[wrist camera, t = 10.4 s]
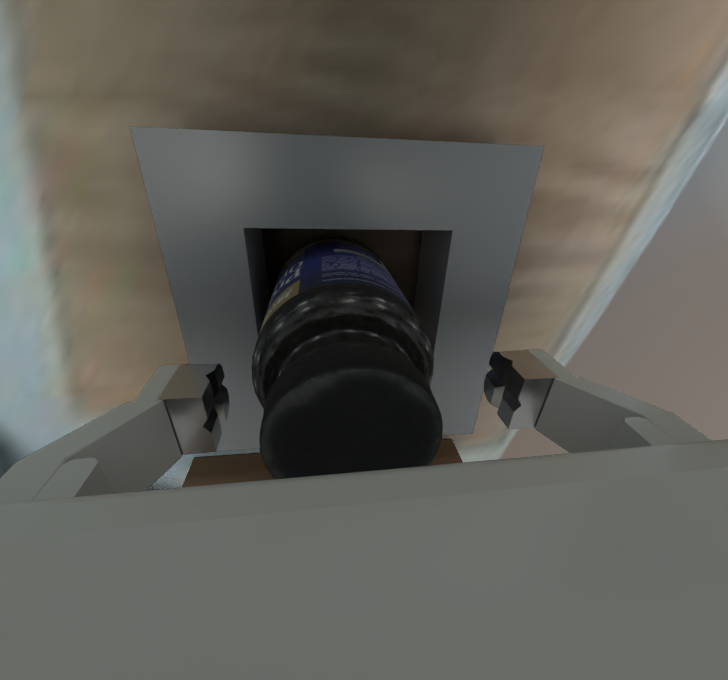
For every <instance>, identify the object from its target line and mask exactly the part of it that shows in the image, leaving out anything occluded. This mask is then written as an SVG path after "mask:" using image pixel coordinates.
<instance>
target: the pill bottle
mask: <svg viewBox="0 0 728 680" xmlns="http://www.w3.org/2000/svg"><path fill="white" fill-rule="evenodd" d="M433 363H434V357H433V351H432V346H431V342H430V339H429V336H428V334H427V332H426V330H425V328H424V325H423V324H422V322H421V321H420V319H419V318H418V317H417V315H416V314H415V312H414V311H413V309H412V308H411V305H410V304H409V303H408V301H407V300H406V298H405V297H404V295H403V293H402V292H401V290H400V289H399V287H398V285H397V284H396V282H395V281H394V279H393V277H392V276H391V275H390V273H389V272H388V270H387V268H386V267H385V266H384V264H383V263H382V261H381V260H380V258H379V257H378V256H377V255H376V254H375V253H374V252H373V251H372V250H371V249H369V248H368V247H366V246H365V245H362V244H360V243H358V242H356V241H353V240H350V239H347V238H340V237H326V238H320V239H317V240H314V241H312V242H310V243H308V244H306V245H305V246H303V247H301V248H299V249H297V250H296V251H294V252H293V253H292V254H291V255H290V256H289V257H288V259H287V261H286V262H285V263H284V265H283V267H282V269H281V271H280V274H279V276H278V279H277V281H276V285H275V288H274V291H273V294H272V297H271V300H270V303H269V306H268V309H267V312H266V315H265V318H264V321H263V324H262V327H261V331H260V334H259V337H258V339H257V342H256V345H255V350H254V353H253V356H252V367H251V369H252V381H253V386H254V390H255V394H256V395H257V398H258V400H259V402H260V404H261V405H262V407H263V409H264V412H263V419H262V423H261V428H260V438H259V442H260V453H261V456H262V460H263V462H264V464H265V467H266V468H267V470H268V471H269V473H270V474H271V475H272V477H273V478H275V479H285V478H296V477H308V476H319V475H330V474H342V473H353V472H364V471H375V470H386V469H398V468H409V467H420V466H429V465H430V464H431V463H432V461H433V459H434V458H435V455H436V454H437V452H438V450H439V446H440V444H441V440H442V432H443V422H442V416H441V413H440V410H439V407H438V404H437V402H436V400H435V398H434V396H433V394H432V391H431V388H430V384H431V380H432V376H433V368H434V365H433Z"/></svg>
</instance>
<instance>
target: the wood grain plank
mask: <svg viewBox="0 0 728 680" xmlns="http://www.w3.org/2000/svg"><path fill="white" fill-rule="evenodd" d="M453 463H463V462H462V460H461V458H460V456H459V454H458V451H457V449H456V447H455V445H454V443H453V441H452V439H446V440H441V444H440V446H439V450H438V452H437V454H436V455H435V458H434V459H433V461H432V463H431V464H430V465H429V466H431V465H442V464H453ZM274 479H275V478H273V477H272V475H271V474H270V473H269V471H268V470H267V468H266V467H265V464H264V462H263V460H262V456H261V453H254V454H240V455H226V456H212V457H199V458H194V459H193V462H192V464H191V467H190V469H189V472H188V474H187V476H186V479H185V481H184V484H183V486H182V488H183V487H194V486H206V485H217V484H228V483H240V482H251V481H262V480H274Z"/></svg>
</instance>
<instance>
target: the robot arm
mask: <svg viewBox="0 0 728 680" xmlns="http://www.w3.org/2000/svg"><path fill="white" fill-rule="evenodd" d="M489 365H490V367H491V370H490V371H489V372H488V373H487V374H486V376H485V380H484V392H485V395H486V398H487V400H488V401H489V403H490V404H491V405H493V406H495V407H497V408H498V413H497V414H498V415H499V417H500V418H501V420H502V421H503V422H504V424H505V425H506V427H507V428H508V429H522V428H535V429H536V430H537V431H538V432H540V433H541V434H543V435H544V436H546V437H547V438H549V439H550V440H552V441H553V442H555V443H556V444H558V445H559V446H561V447H562V448H564V449H565V450H567V451H568V452H569V453H567V454H555V455H544V456H533V457H522V458H511V459H498V460H487V461H476V462H464V463H453V464H442V465H431V466H420V467H409V468H398V469H386V470H375V471H364V472H353V473H342V474H330V475H319V476H308V477H296V478H285V479H274V480H262V481H251V482H240V483H228V484H217V485H206V486H194V487H183V488H172V489H160V490H149V491H146V490H147V489H148V488H150V487H151V486H152V485H153V484H154V483H155V482H156V481H157V480H158V479H159V478H160V477H161V476H162V475H163V474H164V473H165V472H166V471H167V470H168V469H169V468H171V467H172V466H173V465H174V464H175V463H176V462H177V461H178V460H179V459H180V458H181V457H182V455H186V454H195V453H205V452H215V451H216V450H217V447H218V444H219V441H220V438H221V435H222V429H221V425H222V424H223V423H224V422H226V420H227V417H228V413H229V394H228V389H227V388H226V387H225V386H223V385H222V382H223V379H224V377H225V375H224V371H223V367H222V366H221V364H220V363H217V364H183V365H181V364H175V365H163V366H160V367H159V368H158V369H157V371H156V372H155V373H154V375H153V376H152V377H151V379H150V380H149V381H148V383H147V384H146V386H145V387H144V388H143V390H142V391H141V392H140V394H139V395H138V396H137V398H136V399H135V400H134V402H126V403H125V404H123V405H121V406H119V407H117V408H115V409H113V410H112V411H110V412H108V413H106V414H104V415H102V416H100V417H99V418H97V419H95V420H93V421H91V422H89V423H87V424H86V425H84V426H82V427H80V428H78V429H76V430H74V431H73V432H71V433H69V434H67V435H65V436H63V437H61V438H60V439H58V440H56V441H54V442H52V443H50V444H48V445H47V446H45V447H43V448H41V449H39V450H37V451H35V452H34V453H32V454H30V455H28V456H26V457H24V458H22V459H21V460H19V461H17V462H16V463H15V464H14V465H13V466H12V467H11V468H10V469H9V470H8V471H7V472H6V473H5V474H4V475H3V476H2V477H1V478H0V680H728V439H724V440H711V439H709V438H708V437H706V436H705V435H704V434H702V433H701V432H699V431H698V430H697V429H695V428H694V427H692V426H691V425H690V424H688V423H687V422H686V421H684V420H683V419H681V418H680V417H679V416H677V415H676V414H675V413H672V412H670V411H667V410H664V409H661V408H659V407H657V406H654V405H652V404H649V403H646V402H644V401H641V400H639V399H636V398H633V397H631V396H628V395H626V394H623V393H621V392H618V391H616V390H613V389H610V388H608V387H605V386H603V385H600V384H597V383H595V382H592V381H589V380H587V379H584V378H582V377H575V376H573V374H571V373H570V372H569V371H568V370H567V369H566V368H564V367H563V366H562V365H561V364H560V363H558V362H557V361H556V360H555V359H554V358H552V357H551V356H550V355H549V354H548V353H547V352H545V351H544V350H541V349H530V350H518V351H503V352H493V354H492V355H491V357H490V360H489Z"/></svg>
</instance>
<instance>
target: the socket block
mask: <svg viewBox="0 0 728 680" xmlns="http://www.w3.org/2000/svg"><path fill="white" fill-rule="evenodd" d="M130 129H131V133H132V137H133V141H134V145H135V149H136V153H137V157H138V161H139V165H140V169H141V172H142V176H143V180H144V184H145V188H146V192H147V196H148V200H149V204H150V208H151V212H152V216H153V220H154V224H155V228H156V232H157V235H158V239H159V243H160V247H161V251H162V255H163V259H164V263H165V267H166V271H167V275H168V279H169V283H170V287H171V291H172V295H173V298H174V302H175V306H176V310H177V314H178V318H179V322H180V326H181V330H182V334H183V338H184V342H185V346H186V350H187V354H188V357H189V361H190V364H217V363H220V364H221V366H222V367H223V371H224V375H225V377H224V379H223V382H222V385H223V386H225V387H226V388H227V389H228V394H229V413H228V417H227V420H226V422H224V423H223V424H222V425H221V429H222V435H221V438H220V441H219V444H218V447H217V450H216V451H229V450H243V449H257V448H260V442H259V438H260V428H261V423H262V419H263V412H264V409H263V407H262V405H261V404H260V402H259V400H258V398H257V395H256V394H255V390H254V386H253V381H252V369H251V367H252V356H253V353H254V350H255V345H256V342H257V339H258V337H259V334H260V331H261V327H262V324H263V321H264V318H265V315H266V312H267V309H268V306H269V294H268V285H267V275H266V266H265V257H264V248H263V239H262V230H261V228H286V229H370V230H422V237H421V246H420V255H419V264H418V273H417V282H416V291H415V300H414V309H413V311H414V312H415V314H416V315H417V317H418V318H419V319H420V321H421V322H422V324H423V325H424V328H425V330H426V332H427V334H428V336H429V339H430V342H431V346H432V351H433V357H434V363H433V365H434V368H433V376H432V380H431V384H430V388H431V391H432V394H433V396H434V398H435V400H436V402H437V404H438V407H439V410H440V413H441V416H442V422H443V432H442V435H454V434H468V433H473V429H474V425H475V421H476V417H477V413H478V409H479V405H480V401H481V397H482V393H483V389H484V380H485V376H486V374H487V373H488V369H489V360H490V357H491V355H492V353H493V349H494V345H495V341H496V337H497V333H498V329H499V325H500V321H501V317H502V313H503V309H504V305H505V301H506V297H507V293H508V289H509V285H510V281H511V277H512V273H513V269H514V265H515V261H516V257H517V253H518V249H519V245H520V241H521V238H522V234H523V230H524V226H525V222H526V218H527V214H528V210H529V206H530V202H531V198H532V194H533V190H534V186H535V182H536V178H537V174H538V170H539V166H540V162H541V158H542V154H543V150H544V146H531V145H510V144H489V143H468V142H447V141H427V140H406V139H385V138H364V137H343V136H322V135H302V134H281V133H260V132H239V131H218V130H198V129H177V128H156V127H135V126H130Z"/></svg>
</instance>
